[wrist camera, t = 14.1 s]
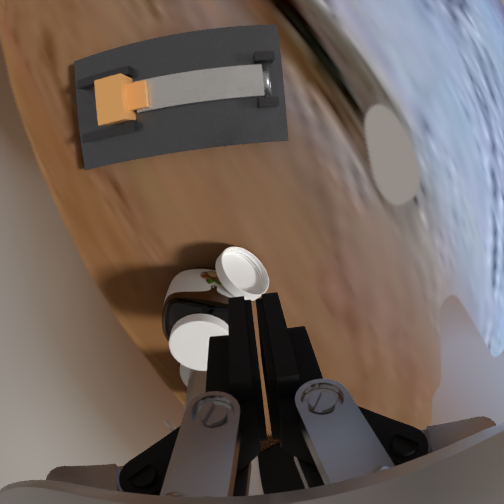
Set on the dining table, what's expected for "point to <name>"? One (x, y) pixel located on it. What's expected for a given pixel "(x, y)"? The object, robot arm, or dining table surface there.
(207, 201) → the dining table surface
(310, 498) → the robot arm
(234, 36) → the plate
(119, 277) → the dining table surface
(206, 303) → the spread jar
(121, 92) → the block
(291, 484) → the bookend
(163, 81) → the strap
